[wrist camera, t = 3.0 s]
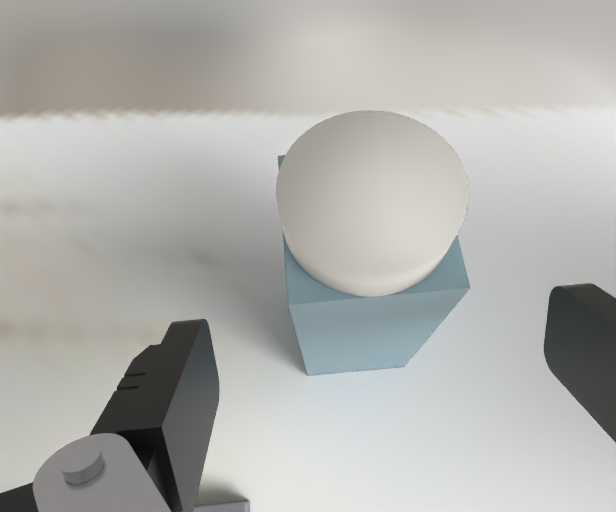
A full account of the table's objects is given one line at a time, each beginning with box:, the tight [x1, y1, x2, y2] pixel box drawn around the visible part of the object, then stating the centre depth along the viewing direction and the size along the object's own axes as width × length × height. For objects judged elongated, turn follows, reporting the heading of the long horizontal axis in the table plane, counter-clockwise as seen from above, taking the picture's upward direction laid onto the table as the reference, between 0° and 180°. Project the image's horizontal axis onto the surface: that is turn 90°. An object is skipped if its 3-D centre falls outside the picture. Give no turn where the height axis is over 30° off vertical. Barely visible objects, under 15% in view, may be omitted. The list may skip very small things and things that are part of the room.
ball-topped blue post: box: [276, 111, 470, 376], centre depth 16 cm, size 4×4×12 cm
